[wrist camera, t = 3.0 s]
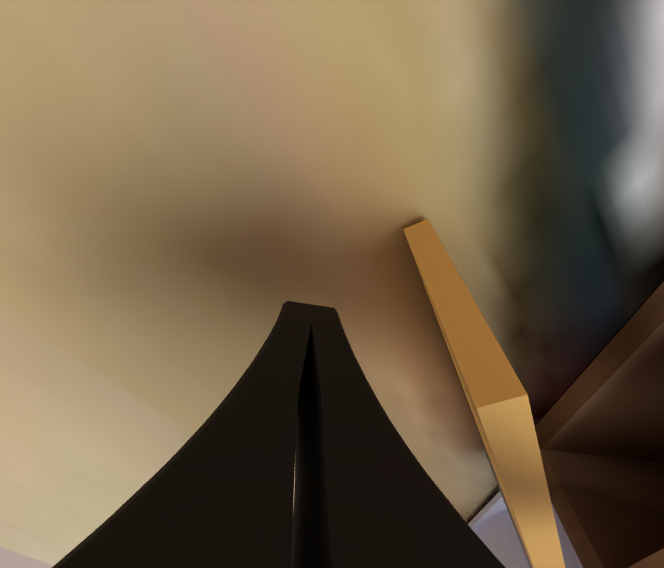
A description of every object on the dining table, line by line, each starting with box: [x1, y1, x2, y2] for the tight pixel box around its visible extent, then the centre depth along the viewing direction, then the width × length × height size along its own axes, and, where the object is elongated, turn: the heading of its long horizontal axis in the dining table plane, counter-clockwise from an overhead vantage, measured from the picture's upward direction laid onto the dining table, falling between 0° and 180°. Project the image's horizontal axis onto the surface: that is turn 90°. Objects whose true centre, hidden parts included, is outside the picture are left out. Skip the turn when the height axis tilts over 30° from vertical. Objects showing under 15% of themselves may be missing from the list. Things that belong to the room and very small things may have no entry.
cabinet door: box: [403, 219, 565, 568], centre depth 12 cm, size 15×1×7 cm, turn 24°
